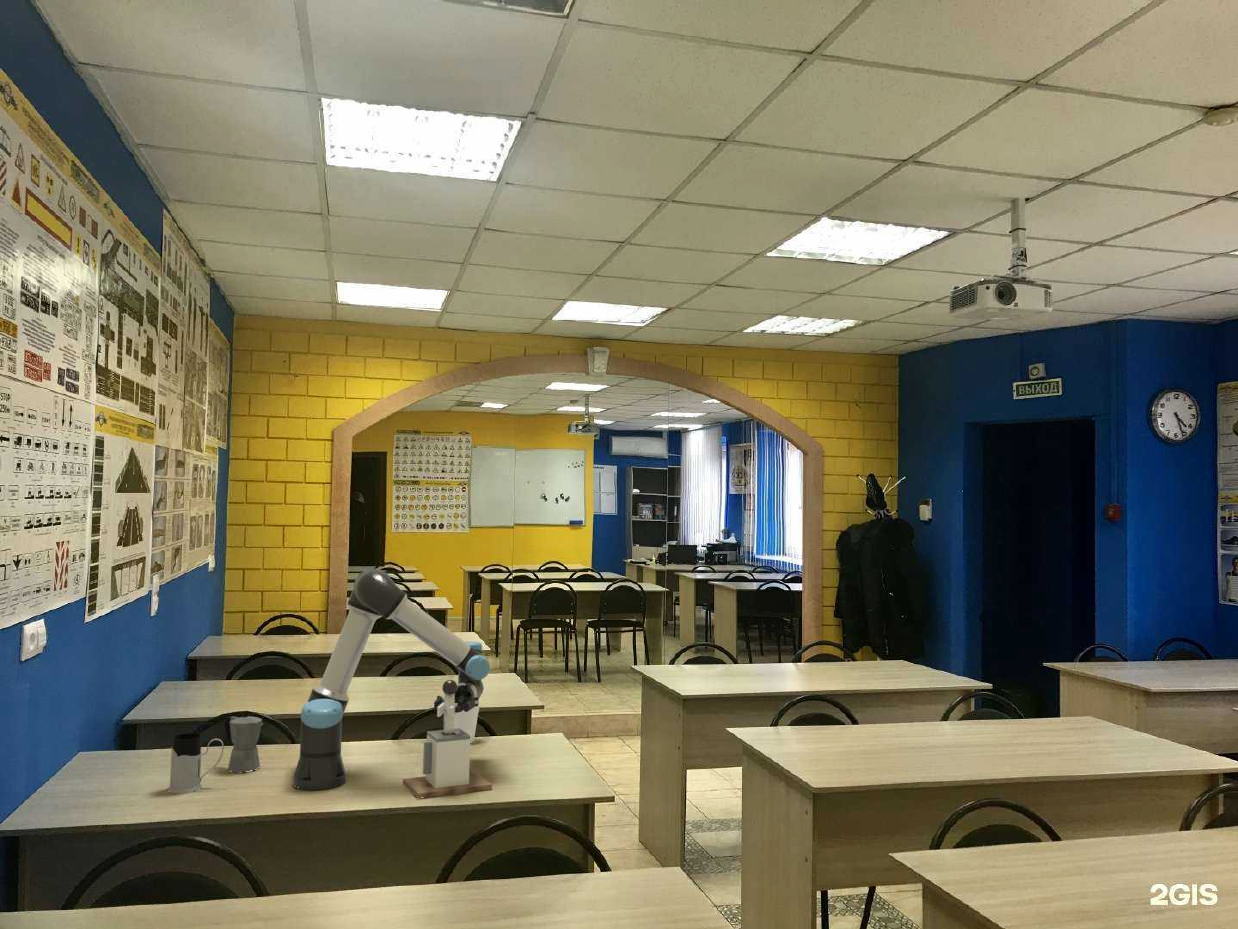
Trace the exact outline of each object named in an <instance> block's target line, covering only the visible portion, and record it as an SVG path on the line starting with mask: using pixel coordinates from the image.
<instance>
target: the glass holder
mask: <svg viewBox="0 0 1238 929" xmlns="http://www.w3.org/2000/svg"><path fill="white" fill-rule="evenodd" d="M213 741H219V742H221V746H222V749H221V754H220V756H219V757H218V758H219V759H218V760H217V762H216V763H214V765H213V766H212V767H211V768H210V769H209V770H207V771H206V772H205V773H204V774H202V775H201V769H202V756H205V755H207V754H208V752H209V746H210V744H212V742H213ZM206 745H207V746H206V752H204V753H202V752H201V749H202V734H201V733H196V732H188V733H181V734H176V735H173V736H172V745H171V755H170V757H171V758H170V778H169V786H168V789H167V792H168V791H170V792H171V793H170V794H173V793H176V794H175V795H180V794H181V795H182V793H185V794H191V793H194V792H193V791H195V792H197V791H200V790H201V789H202V785H201V783H202V779H203V778H204V777H205V776H206V775H207V774H209V773H210V772H211V771H212V770H214V768H216V767H217V766H218V764H219V763H220V761H221V759H222V757H223V755H224V750H225V749H224V748H225V747H224V746H225V745H224V742H223V741H222V739H220V738H213V739H211V740H209V742H208V744H206ZM199 789H200V790H199ZM190 792H191V793H190Z"/></svg>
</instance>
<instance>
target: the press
mask: <svg viewBox="0 0 1238 929" xmlns="http://www.w3.org/2000/svg"><path fill="white" fill-rule="evenodd" d="M443 730H444V729H439V730H429V731H426V741H424V742H423V760H422V765H423V766H422V774H423V775H425V776H426V780H427V781H428V782H429V783H430V784H431V785H433V786H434V787H435V788H442V787H450V786H458V785H466V784H469V771H470V762H471V761H470V758H471V756H470V755H471V751H470V750H471V744H470V735H469V734H467V733H466V732H464V731H463V730H461V729H460V728H458V729H454V735H446V736H444V735H443Z"/></svg>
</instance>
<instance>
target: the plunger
mask: <svg viewBox="0 0 1238 929" xmlns="http://www.w3.org/2000/svg"><path fill="white" fill-rule="evenodd" d="M457 685H458V683H457V682H456V681H455V680H452V679H448V680H446V681H444V682H443V684H442V692H443V693H444V697H443V698H444V713H443V729H442V730H443V735H444V736H446V735H454V716H453V717H450V707H451V706H452V705H454V704H455V692H456V691H457Z"/></svg>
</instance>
